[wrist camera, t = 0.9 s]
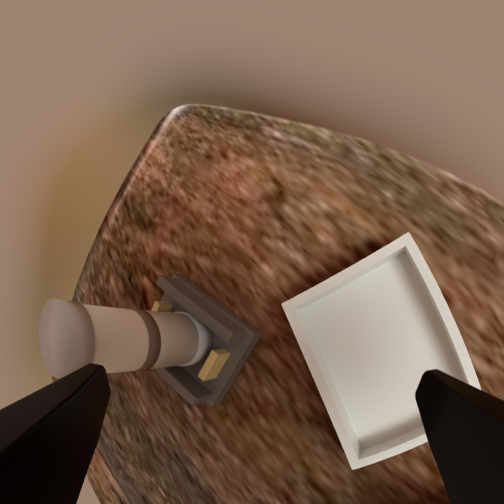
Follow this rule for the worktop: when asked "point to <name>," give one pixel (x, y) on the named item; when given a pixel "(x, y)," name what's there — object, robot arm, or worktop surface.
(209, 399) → the fuse holder
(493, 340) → the worktop surface
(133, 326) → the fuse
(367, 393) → the parts tray
